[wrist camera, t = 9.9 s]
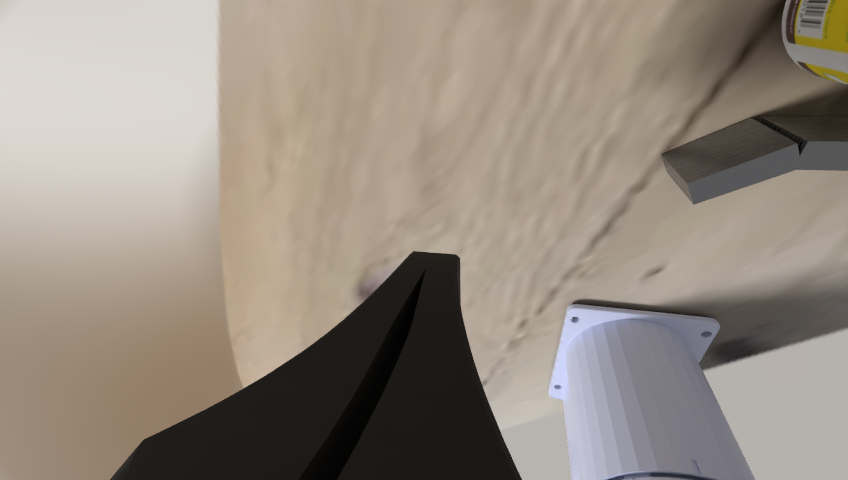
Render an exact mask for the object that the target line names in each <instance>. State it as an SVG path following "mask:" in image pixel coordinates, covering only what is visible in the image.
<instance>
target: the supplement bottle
mask: <svg viewBox="0 0 848 480" xmlns="http://www.w3.org/2000/svg"><path fill="white" fill-rule="evenodd" d="M782 38H783V42H784V46H785V48H786V50H787V53H788V54H789V56H790V57H791V58H792V60H793V61H794V62H795V63H796V64H797V65H798V66H799V67H801V68H802V69H804V70H805V71H807V72H809V73H811V74H813V75H816V76H819V77H822V78H825V79H828V80H832V81H835V82H839V83H843V84H847V85H848V0H786V3H785V7H784V11H783V17H782Z"/></svg>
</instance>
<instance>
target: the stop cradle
mask: <svg viewBox="0 0 848 480" xmlns="http://www.w3.org/2000/svg"><path fill="white" fill-rule="evenodd" d="M661 155H662V158H663V161H664V164H665V167H666V170H667V173H668V174H669V175H670V176H671V178H672V179H673V180H674V181H675V183H676V184H677V185H678V186H679V187H680V189H681V190H682V191H683V192H684V194H685V195H686V196H687V197H688V198H689V200H690V201H691V202H692V203H693V204H697V203H700V202H703V201H706V200H708V199H711V198H714V197H717V196H720V195H723V194H726V193H729V192H732V191H735V190H738V189H741V188H744V187H747V186H750V185H752V184H755V183H758V182H761V181H764V180H767V179H770V178H773V177H776V176H779V175H782V174H785V173H788V172H791V171H794V170H842V171H848V115H838V116H759V117H758V119H757V121H756V120H754V119H752V118H749V119H746V120H744V121H741V122H739V123H736V124H734V125H732V126H729V127H727V128H724V129H722V130H719V131H717V132H715V133H712V134H710V135H707V136H705V137H702V138H700V139H698V140H695V141H693V142H690V143H688V144H686V145H683V146H681V147H678V148H676V149H673V150H671V151H669V152H666V153H664V154H661Z"/></svg>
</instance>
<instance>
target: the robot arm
mask: <svg viewBox="0 0 848 480" xmlns="http://www.w3.org/2000/svg"><path fill="white" fill-rule="evenodd" d="M572 317H577V318H572ZM719 329H720V325H719V323H718V321H717V320H716V319H714V318H709V317H699V316H689V315H680V314H670V313H660V312H650V311H640V310H630V309H620V308H611V307H601V306H591V305H581V304H573V305H570V306H569V307H568V308H567V312H566V316H565V320H564V325H563V329H562V333H561V338H560V342H559V346H558V351H557V355H556V359H555V364H554V368H553V372H552V377H551V381H550V385H549V396H550V397H552V398H555V399H561V400H563V404H564V413H565V422H566V431H567V440H568V450H569V458H570V468H571V477H572V480H755V478H754V476H753V474H752V472H751V470H750V468H749V466H748V464H747V462H746V460H745V458H744V456H743V453H742V451H741V449H740V447H739V445H738V443H737V441H736V439H735V437H734V435H733V433H732V431H731V429H730V427H729V425H728V422H727V420H726V418H725V417H724V414H723V412H722V410H721V408H720V406H719V404H718V402H717V400H716V398H715V396H714V394H713V392H712V390H711V388H710V385H709V383H708V381H707V379H706V377H705V375H704V373H703V371H702V369H701V367H700V365H699V363H700V361H701V359H702V358H703V356H704V354H705V353H706V351H707V349H708V348H709V346H710V344H711V343H712V341H713V339H714V338H715V336H716V334H717V333H718V331H719ZM705 331H706V332H705ZM110 480H522V479H521V477H520V475H519V473H518V471H517V468H516V466H515V464H514V462H513V460H512V457H511V455H510V453H509V451H508V448H507V446H506V444H505V442H504V439H503V437H502V435H501V432H500V430H499V427H498V425H497V422H496V420H495V417H494V415H493V412H492V410H491V407H490V405H489V403H488V400H487V398H486V395H485V392H484V389H483V386H482V384H481V381H480V378H479V375H478V372H477V369H476V366H475V363H474V360H473V356H472V353H471V350H470V346H469V342H468V338H467V334H466V330H465V326H464V322H463V317H462V312H461V306H460V258H459V257H458V256H457V255H454V254H441V253H429V252H416V251H413V252H412V253H411V254H410V255H409V256H408V257H407V258H406V259H405V260H404V261H403V262H402V264H401V265H400V266H399V267H398V268H397V269H396V270H395V271H394V272H393V273H392V274H391V275H390V276H389V277H388V278H387V279H386V280H385V281H384V282H383V283H382V284H381V285H380V286H379V287H378V288H377V289H376V290H375V291H374V292H373V293H372V294H371V295H370V296H369V297H368V298H367V299H366V300H365V301H364V302H363V303H362V304H361V305H360V306H358V307H357V308H356V309H355V310H354V311H353V312H352V313H351V314H349V315H348V316H347V317H346V318H345V319H344V320H343V321H341V322H340V323H339V324H338V325H337V326H335V327H334V328H333V329H332V330H331V331H329V332H328V333H327V334H325V335H324V336H323V337H322V338H320V339H319V340H318V341H316V342H315V343H314V344H312V345H311V346H310V347H308V348H307V349H305V350H304V351H302V352H301V353H300V354H298V355H297V356H295V357H294V358H292V359H290V360H289V361H287V362H286V363H284V364H283V365H281V366H280V367H278V368H277V369H275V370H274V371H272V372H271V373H269V374H268V375H266V376H264V377H263V378H261V379H259V380H258V381H256V382H254V383H252V384H251V385H249V386H247V387H246V388H244V389H242V390H240V391H239V392H237V393H235V394H233V395H231V396H230V397H228V398H226V399H224V400H223V401H221V402H219V403H217V404H215V405H213V406H211V407H209V408H208V409H206V410H204V411H202V412H200V413H198V414H196V415H194V416H191V417H190V418H187V419H186V420H183V421H181V422H179V423H177V424H175V425H173V426H171V427H169V428H167V429H165V430H163V431H161V432H159V433H157V434H155V435H153V436H151V437H148V438H146V439H144V440H143V441H142V442H141V443H140V445H139V446H138V447H137V448H136V449H135V450H134V452H133V453H132V454H131V455H130V456H129V457H128V459H127V460H126V461H125V463H124V464H123V465H122V466H121V467H120V468H119V469H118V471H117V472H116V473H115V474H114V475H113V477H112V478H111V479H110Z"/></svg>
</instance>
